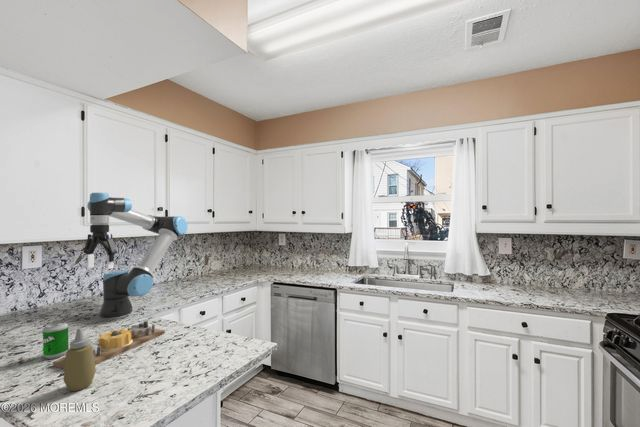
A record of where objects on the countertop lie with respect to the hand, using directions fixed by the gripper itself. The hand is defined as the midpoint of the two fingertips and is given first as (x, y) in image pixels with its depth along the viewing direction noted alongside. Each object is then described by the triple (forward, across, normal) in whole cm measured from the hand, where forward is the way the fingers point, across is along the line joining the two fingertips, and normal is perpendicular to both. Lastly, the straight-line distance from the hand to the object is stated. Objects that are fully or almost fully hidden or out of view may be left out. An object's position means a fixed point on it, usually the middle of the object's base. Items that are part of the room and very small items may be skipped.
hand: (100, 268), depth 149 cm
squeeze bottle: (+29, +47, -39) cm, 68 cm away
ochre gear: (+27, +30, -15) cm, 43 cm away
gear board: (+29, +30, -15) cm, 44 cm away
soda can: (+29, +14, -27) cm, 42 cm away
